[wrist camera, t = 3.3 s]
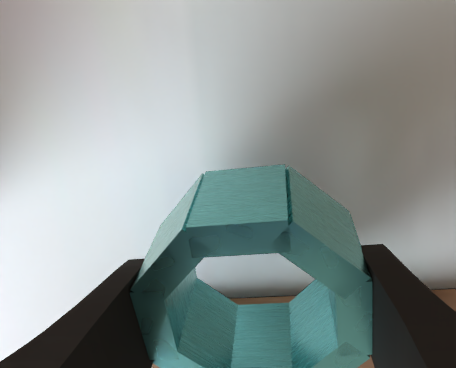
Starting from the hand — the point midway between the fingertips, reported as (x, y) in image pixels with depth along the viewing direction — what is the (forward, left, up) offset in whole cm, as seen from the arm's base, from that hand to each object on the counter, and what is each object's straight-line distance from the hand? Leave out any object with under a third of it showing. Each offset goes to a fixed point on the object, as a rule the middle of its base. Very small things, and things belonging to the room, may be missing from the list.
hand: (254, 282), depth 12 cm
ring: (0, 0, -1) cm, 1 cm away
